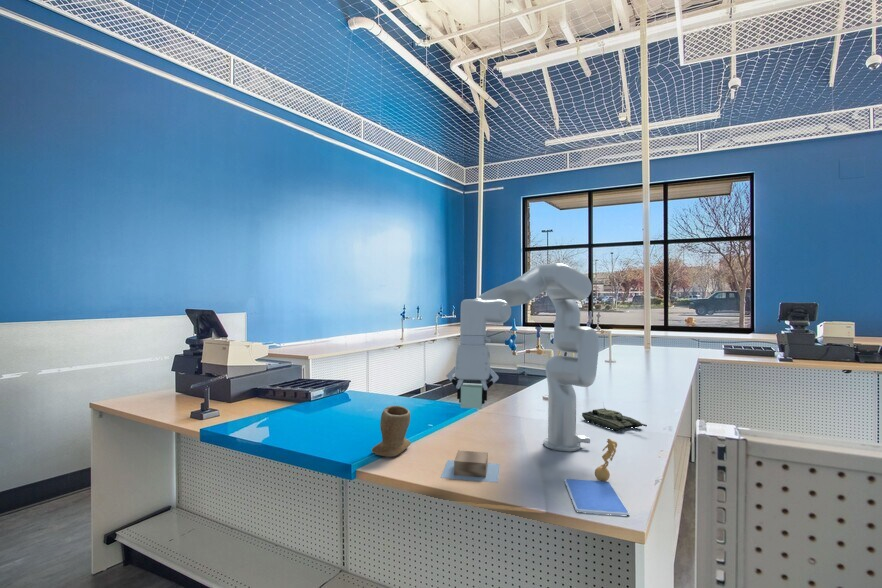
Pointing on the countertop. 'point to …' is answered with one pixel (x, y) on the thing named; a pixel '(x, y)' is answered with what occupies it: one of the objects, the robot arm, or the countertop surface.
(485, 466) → the walnut base block
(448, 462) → the light blue mat
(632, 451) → the countertop surface
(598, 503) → the tablet computer
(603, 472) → the figurine
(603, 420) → the toy tank
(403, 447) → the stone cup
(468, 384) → the sage cube
